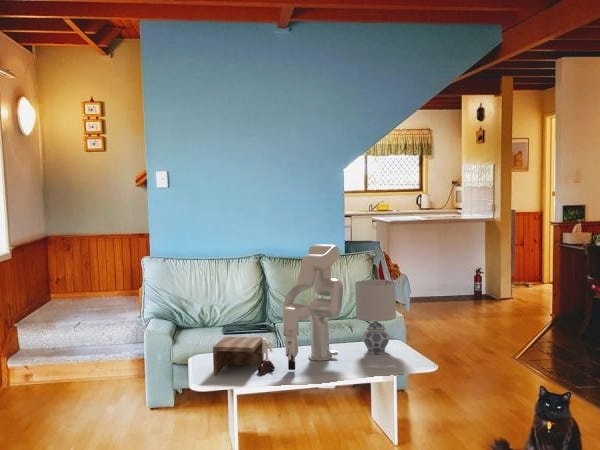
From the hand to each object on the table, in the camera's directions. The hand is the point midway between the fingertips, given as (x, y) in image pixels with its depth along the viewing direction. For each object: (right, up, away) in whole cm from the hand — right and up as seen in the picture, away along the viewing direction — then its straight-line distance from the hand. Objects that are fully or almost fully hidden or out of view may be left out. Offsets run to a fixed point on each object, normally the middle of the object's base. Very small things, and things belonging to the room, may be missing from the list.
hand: (291, 369), depth 285 cm
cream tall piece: (-15, -1, +23) cm, 27 cm away
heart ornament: (-13, -2, +1) cm, 14 cm away
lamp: (+45, +1, +32) cm, 55 cm away
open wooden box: (-26, -1, +5) cm, 27 cm away
